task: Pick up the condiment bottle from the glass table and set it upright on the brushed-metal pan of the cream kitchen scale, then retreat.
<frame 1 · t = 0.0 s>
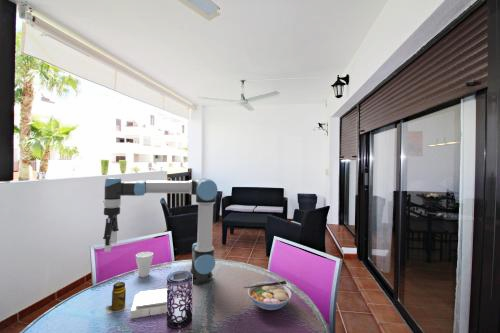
hand: (110, 247, 128), 28 cm above the table, fingers open, 13 cm apart
ramen bowl: (269, 306, 127), on the table
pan: (152, 297, 124), point 5 cm above the table, slide at -0.8 cm
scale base: (152, 306, 124), on the table
cup: (143, 275, 159), on the table
condiment: (116, 308, 121), on the table
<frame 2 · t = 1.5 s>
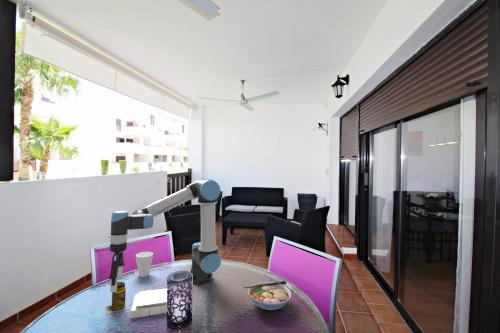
hand: (116, 285, 121), 11 cm above the table, fingers open, 13 cm apart
nothing on the table moved.
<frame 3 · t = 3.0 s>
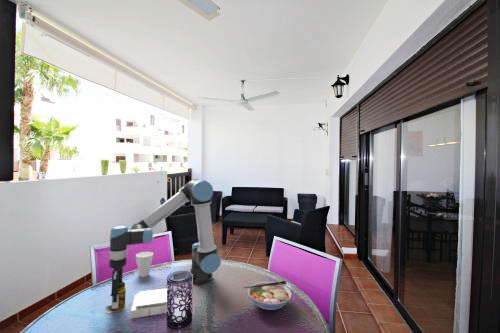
hand: (116, 304, 121), 2 cm above the table, fingers closed on condiment, 6 cm apart
condiment: (116, 308, 121), on the table, touching gripper
everything else where it was.
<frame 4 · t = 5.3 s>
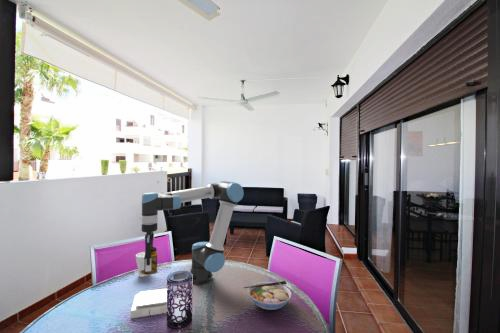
hand: (149, 268, 124), 19 cm above the table, fingers closed on condiment, 6 cm apart
condiment: (148, 272, 124), point 17 cm above the table, touching gripper
everything else where it was.
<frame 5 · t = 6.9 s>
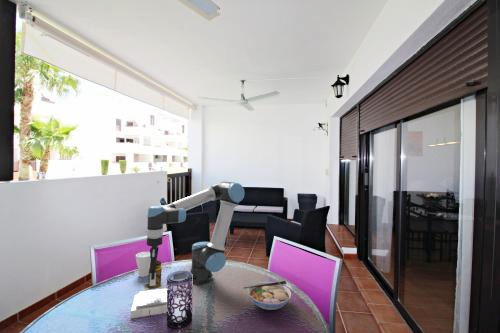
hand: (153, 282, 124), 12 cm above the table, fingers closed on condiment, 6 cm apart
condiment: (152, 286, 124), point 10 cm above the table, touching gripper
everything else where it was.
when the fingers open (9 cm above the table, at t = 7.9 s): condiment drops 2 cm, resting on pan.
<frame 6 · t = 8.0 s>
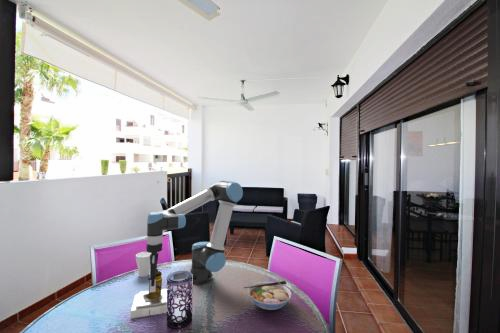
hand: (153, 288, 124), 9 cm above the table, fingers open, 7 cm apart
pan: (152, 297, 124), point 4 cm above the table, slide at -0.9 cm, touching condiment
condiment: (152, 297, 124), point 5 cm above the table, touching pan
everything else where it was.
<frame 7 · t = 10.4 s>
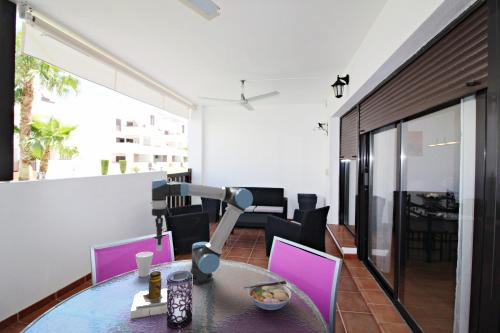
hand: (159, 246, 132), 28 cm above the table, fingers open, 13 cm apart
nothing on the table moved.
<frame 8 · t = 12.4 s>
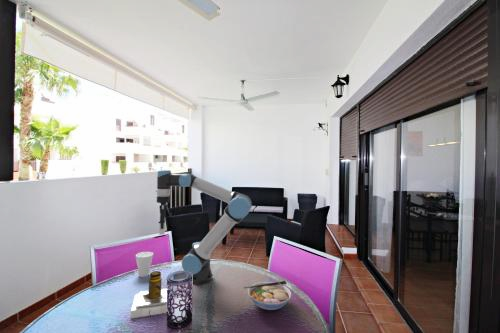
hand: (162, 231, 145), 33 cm above the table, fingers open, 13 cm apart
nothing on the table moved.
at the end: condiment inside the target area on the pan (0.1 cm from its centre), point 5.6 cm above the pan's base; condiment tilted 0°; the gripper is holding nothing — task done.
